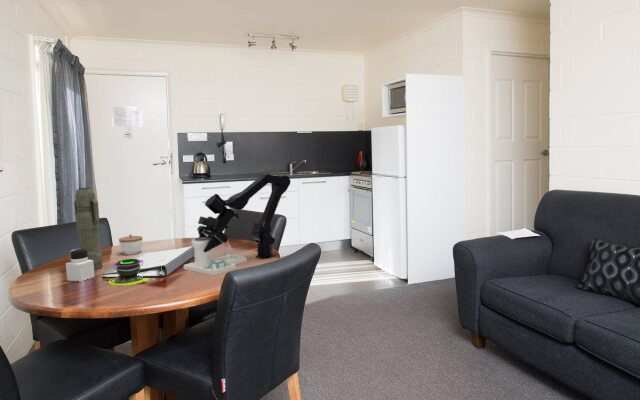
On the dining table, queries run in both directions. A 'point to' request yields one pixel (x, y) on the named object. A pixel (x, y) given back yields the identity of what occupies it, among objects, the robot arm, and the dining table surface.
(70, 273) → the medicine bottle
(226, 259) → the small tray
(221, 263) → the letter cube
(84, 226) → the thermos
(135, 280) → the toy cauldron
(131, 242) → the lidded jar
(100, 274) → the dining table surface
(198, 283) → the dining table surface
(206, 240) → the can
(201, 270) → the long tray
